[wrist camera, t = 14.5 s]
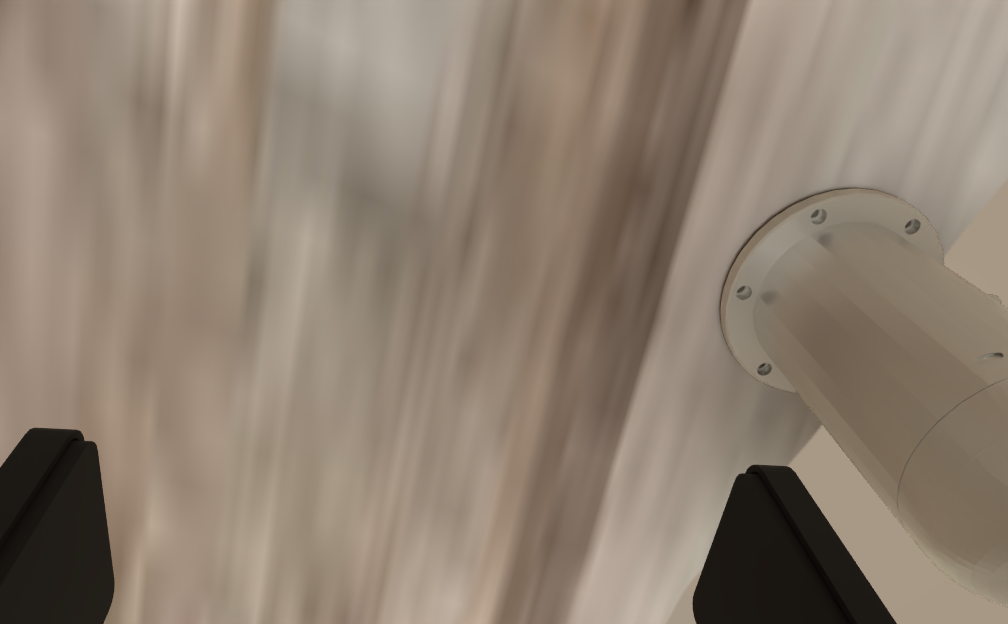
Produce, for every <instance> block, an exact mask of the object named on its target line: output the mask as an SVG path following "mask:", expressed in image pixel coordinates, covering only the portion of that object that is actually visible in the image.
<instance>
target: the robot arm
mask: <svg viewBox="0 0 1008 624" xmlns="http://www.w3.org/2000/svg"><path fill="white" fill-rule="evenodd" d="M813 212H814V213H813ZM812 213H813V214H812ZM740 287H741V288H740ZM720 310H721V326H722V330H723V333H724V337H725V340H726V343H727V345H728V346H729V348H730V350H731V351H732V353H733V355H734V357H735V358H736V359H737V360H738V362H739V363H740V364H741V365H742V367H743V368H744V369H745V370H746V371H747V372H748V373H749V374H750V375H751V376H753V377H754V378H755V379H757V380H758V381H760V382H762V383H764V384H766V385H768V386H770V387H772V388H776V389H780V390H784V391H788V392H796V393H798V394H799V395H800V397H801V398H802V399H803V401H804V402H805V403H806V404H807V406H808V407H809V408H810V409H811V411H812V412H813V413H814V415H815V416H816V417H817V418H818V420H819V421H820V422H821V423H822V425H823V426H824V427H825V428H826V430H827V431H828V432H829V434H830V435H831V436H832V437H833V439H834V440H835V441H836V442H837V444H838V445H839V446H840V448H841V449H842V450H843V451H844V453H845V454H846V455H847V456H848V458H849V459H850V460H851V461H852V463H853V464H854V465H855V467H856V468H857V469H858V470H859V472H860V473H861V474H862V475H863V477H864V478H865V479H866V480H867V482H868V483H869V484H870V486H871V487H872V488H873V490H874V491H875V492H876V493H877V494H878V496H879V497H880V498H881V500H882V501H883V502H884V504H885V505H886V506H887V507H888V509H889V510H890V511H891V512H892V514H893V515H894V516H895V517H896V519H897V520H898V521H899V523H900V524H901V525H902V526H903V528H904V529H905V530H906V531H907V533H908V534H909V535H910V537H911V538H912V539H913V540H914V541H915V542H916V544H917V545H918V546H919V548H920V549H921V550H922V551H923V553H924V554H925V555H926V556H927V557H928V558H929V559H930V560H931V562H933V564H934V565H935V566H936V567H937V568H938V569H939V570H941V571H942V572H943V573H944V574H945V575H946V576H948V577H949V578H950V579H951V580H953V581H954V582H956V583H957V584H959V585H960V586H962V587H963V588H965V589H966V590H968V591H970V592H971V593H973V594H975V595H977V596H980V597H982V598H984V599H987V600H989V601H991V602H994V603H997V604H1000V605H1002V606H1005V607H1008V308H1006V307H1005V306H1004V305H1002V303H1001V300H1000V299H999V297H998V296H996V295H991V294H986V293H984V292H983V291H981V290H980V289H978V288H977V287H975V286H974V285H972V284H971V283H969V282H968V281H966V280H965V279H964V278H962V277H960V276H959V275H958V274H956V273H955V272H953V271H951V270H950V269H949V268H947V267H946V266H944V257H943V249H942V246H941V244H940V241H939V238H938V235H937V233H936V231H935V230H934V228H933V227H932V225H931V224H930V223H929V221H928V220H927V218H926V217H924V216H923V215H922V214H921V213H920V212H918V211H917V210H916V209H915V208H914V207H913V206H911V205H909V204H907V203H906V202H904V201H902V200H900V199H899V198H897V197H895V196H892V195H889V194H886V193H883V192H880V191H877V190H868V189H859V188H855V189H842V190H834V191H830V192H826V193H822V194H819V195H815V196H812V197H810V198H808V199H805V200H803V201H801V202H799V203H797V204H794V205H792V206H791V207H789V208H788V209H786V210H784V211H783V212H781V213H780V214H778V215H777V216H775V217H774V218H772V219H771V220H770V221H769V222H768V223H767V224H766V225H765V226H763V227H762V228H761V229H760V230H759V231H758V232H757V233H756V234H755V235H754V236H753V237H752V238H751V240H750V241H749V242H748V243H747V245H746V246H745V247H744V248H743V249H742V251H741V252H740V254H739V256H738V257H737V259H736V261H735V263H734V264H733V266H732V268H731V270H730V272H729V275H728V278H727V280H726V283H725V286H724V289H723V294H722V301H721V307H720ZM113 594H114V574H113V566H112V558H111V550H110V543H109V535H108V527H107V519H106V511H105V504H104V496H103V488H102V480H101V472H100V465H99V457H98V450H97V445H96V444H95V442H92V441H84V437H83V434H82V433H81V431H79V430H70V429H50V428H33V429H30V430H29V431H28V432H27V433H26V434H25V435H24V437H23V438H22V439H21V441H20V442H19V443H18V445H17V446H16V447H15V449H14V450H13V451H12V453H11V454H10V455H9V457H8V458H7V459H6V461H5V462H4V463H3V465H2V466H1V467H0V624H103V623H104V621H105V618H106V616H107V614H108V612H109V609H110V606H111V603H112V599H113ZM693 612H694V617H695V621H696V623H697V624H897V623H896V622H895V620H894V619H893V618H892V616H891V615H890V613H889V612H888V610H887V608H886V607H885V606H884V604H883V603H882V601H881V600H880V598H879V597H878V595H877V594H876V592H875V591H874V589H873V588H872V586H871V585H870V583H869V582H868V580H867V579H866V577H865V576H864V574H863V573H862V571H861V570H860V568H859V567H858V565H857V564H856V562H855V561H854V559H853V558H852V556H851V555H850V553H849V552H848V551H847V549H846V548H845V546H844V544H843V543H842V542H841V540H840V538H839V537H838V535H837V534H836V532H835V531H834V530H833V528H832V527H831V525H830V524H829V522H828V521H827V519H826V518H825V516H824V515H823V513H822V512H821V510H820V509H819V507H818V506H817V504H816V503H815V501H814V500H813V498H812V497H811V495H810V494H809V493H808V491H807V489H806V488H805V486H804V485H803V483H802V482H801V480H800V479H799V477H798V476H797V474H796V473H795V472H794V471H793V470H792V469H791V468H789V467H787V466H770V465H752V466H750V467H749V468H748V469H747V471H746V473H745V474H739V475H738V476H737V477H736V479H735V482H734V484H733V487H732V490H731V493H730V495H729V498H728V501H727V504H726V507H725V509H724V512H723V515H722V518H721V520H720V523H719V526H718V529H717V531H716V534H715V537H714V540H713V542H712V545H711V548H710V551H709V553H708V556H707V559H706V562H705V564H704V567H703V570H702V573H701V575H700V578H699V581H698V584H697V587H696V589H695V592H694V596H693Z"/></svg>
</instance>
